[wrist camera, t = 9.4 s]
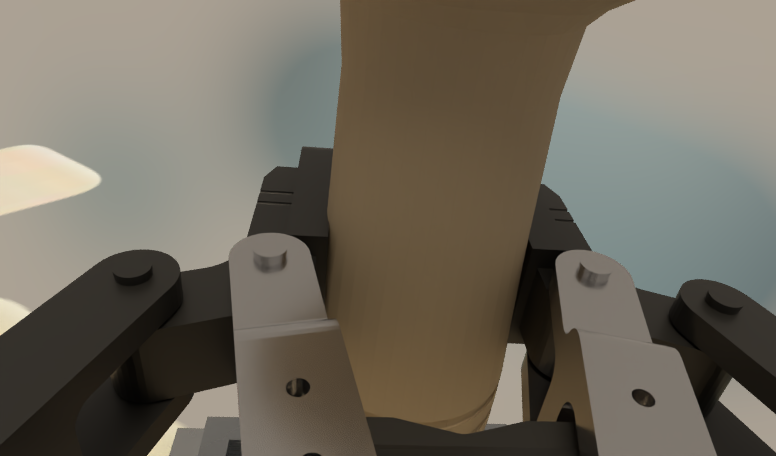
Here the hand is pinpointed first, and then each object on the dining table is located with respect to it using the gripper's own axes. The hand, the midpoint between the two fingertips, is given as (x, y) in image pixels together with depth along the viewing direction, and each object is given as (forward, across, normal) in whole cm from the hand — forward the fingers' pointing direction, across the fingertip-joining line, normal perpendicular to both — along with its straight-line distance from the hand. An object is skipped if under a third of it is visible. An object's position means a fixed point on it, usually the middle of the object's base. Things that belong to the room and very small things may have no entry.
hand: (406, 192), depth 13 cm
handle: (-3, 0, +8) cm, 9 cm away
